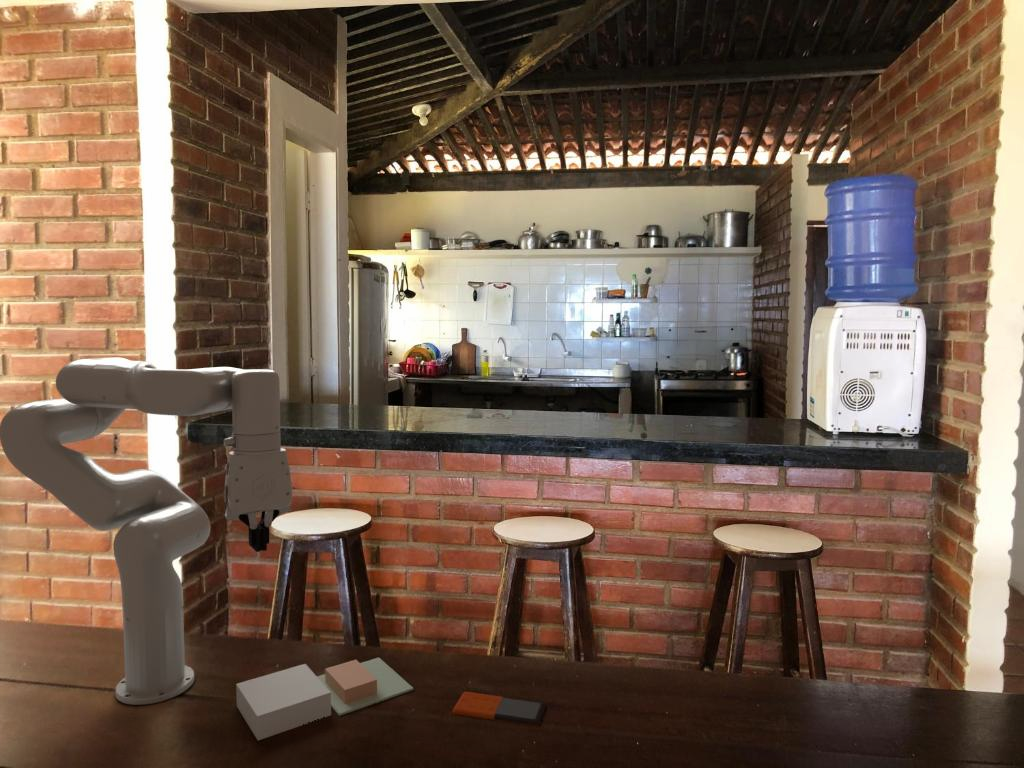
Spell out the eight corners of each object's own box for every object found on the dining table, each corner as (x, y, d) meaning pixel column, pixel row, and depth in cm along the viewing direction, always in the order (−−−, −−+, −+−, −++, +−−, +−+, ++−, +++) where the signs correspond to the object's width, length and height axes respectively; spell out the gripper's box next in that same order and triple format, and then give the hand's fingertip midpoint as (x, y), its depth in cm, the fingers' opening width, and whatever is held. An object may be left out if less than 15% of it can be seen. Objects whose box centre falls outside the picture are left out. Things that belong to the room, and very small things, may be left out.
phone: (463, 689, 121) (546, 701, 117) (463, 696, 121) (546, 708, 117) (451, 709, 115) (538, 722, 111) (451, 716, 115) (538, 729, 111)
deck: (236, 706, 116) (236, 683, 116) (305, 684, 123) (305, 663, 123) (257, 740, 107) (257, 716, 106) (331, 715, 114) (330, 692, 113)
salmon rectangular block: (356, 659, 127) (356, 672, 127) (325, 668, 123) (325, 681, 124) (377, 679, 120) (377, 693, 120) (344, 690, 116) (344, 704, 116)
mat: (309, 680, 125) (309, 678, 125) (378, 659, 133) (378, 657, 133) (339, 715, 114) (339, 713, 113) (413, 690, 122) (413, 687, 122)
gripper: (215, 450, 107) (218, 564, 108) (308, 441, 116) (310, 547, 117) (204, 443, 113) (207, 551, 114) (293, 436, 121) (295, 536, 123)
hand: (259, 549), depth 116 cm, fingers closed
